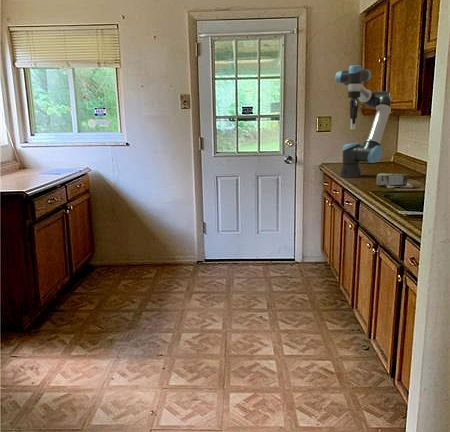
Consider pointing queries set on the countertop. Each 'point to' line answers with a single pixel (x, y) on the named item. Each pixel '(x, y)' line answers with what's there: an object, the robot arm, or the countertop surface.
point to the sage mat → (399, 186)
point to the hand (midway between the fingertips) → (353, 129)
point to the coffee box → (391, 179)
